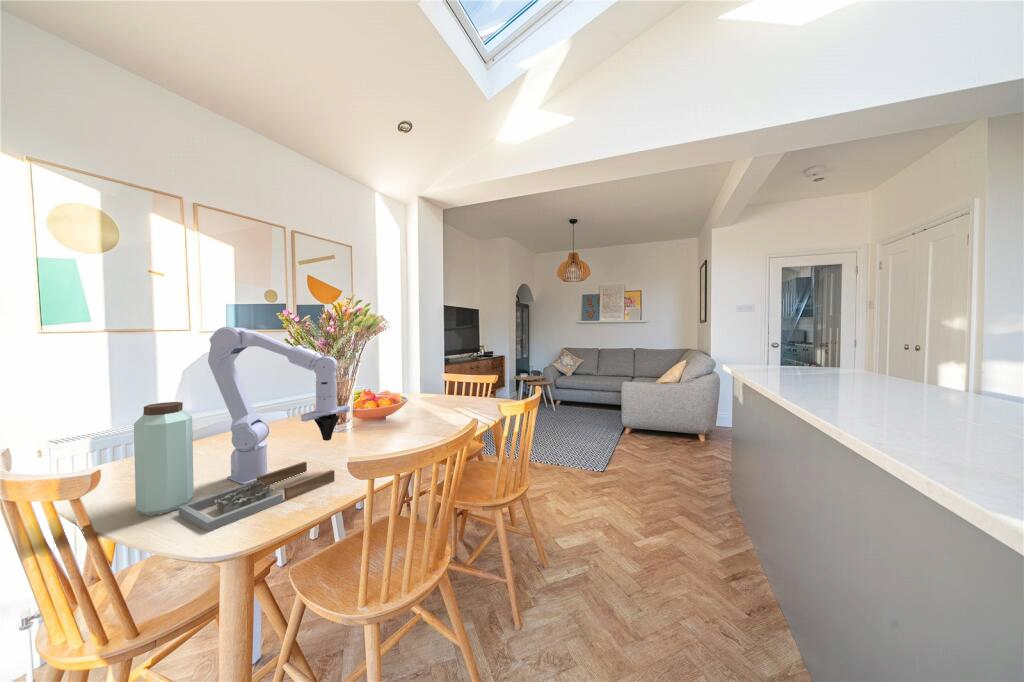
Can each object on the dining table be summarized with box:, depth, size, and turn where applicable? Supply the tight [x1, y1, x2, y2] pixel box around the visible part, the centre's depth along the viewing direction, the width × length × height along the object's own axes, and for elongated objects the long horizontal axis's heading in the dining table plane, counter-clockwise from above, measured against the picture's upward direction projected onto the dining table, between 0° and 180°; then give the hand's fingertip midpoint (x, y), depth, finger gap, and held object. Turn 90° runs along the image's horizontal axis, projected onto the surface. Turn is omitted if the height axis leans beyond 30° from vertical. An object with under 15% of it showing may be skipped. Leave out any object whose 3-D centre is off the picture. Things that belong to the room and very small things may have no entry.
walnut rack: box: [257, 461, 335, 501], centre depth 98 cm, size 14×13×3 cm
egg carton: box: [214, 479, 275, 514], centre depth 87 cm, size 11×8×4 cm
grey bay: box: [178, 482, 284, 533], centre depth 84 cm, size 14×15×2 cm
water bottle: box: [133, 401, 195, 517], centre depth 85 cm, size 10×10×25 cm
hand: (327, 439), depth 108 cm, fingers closed
